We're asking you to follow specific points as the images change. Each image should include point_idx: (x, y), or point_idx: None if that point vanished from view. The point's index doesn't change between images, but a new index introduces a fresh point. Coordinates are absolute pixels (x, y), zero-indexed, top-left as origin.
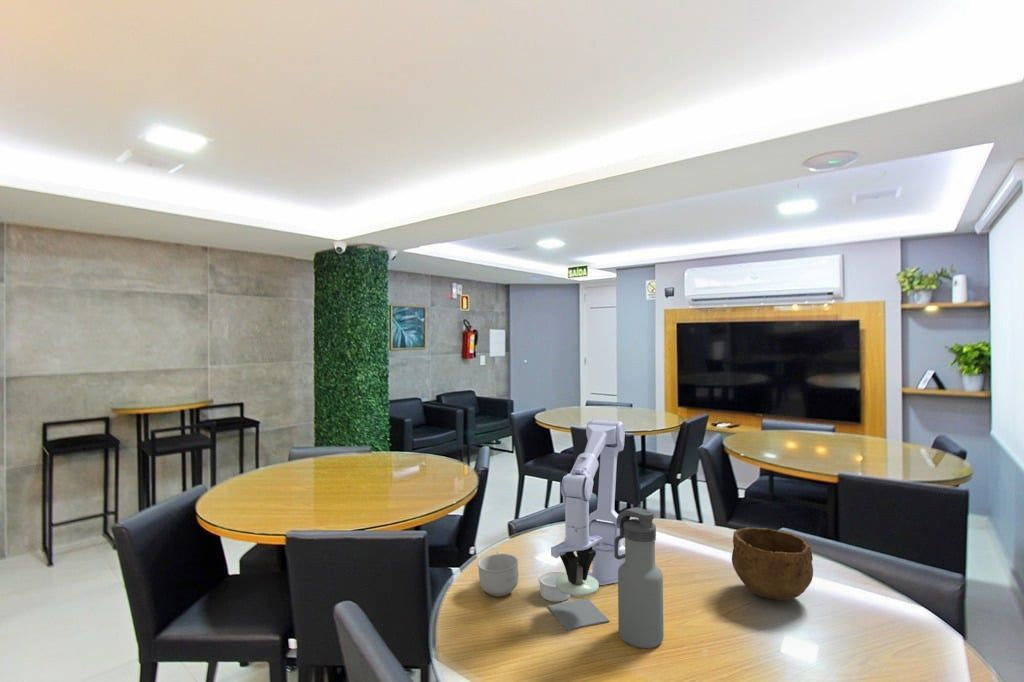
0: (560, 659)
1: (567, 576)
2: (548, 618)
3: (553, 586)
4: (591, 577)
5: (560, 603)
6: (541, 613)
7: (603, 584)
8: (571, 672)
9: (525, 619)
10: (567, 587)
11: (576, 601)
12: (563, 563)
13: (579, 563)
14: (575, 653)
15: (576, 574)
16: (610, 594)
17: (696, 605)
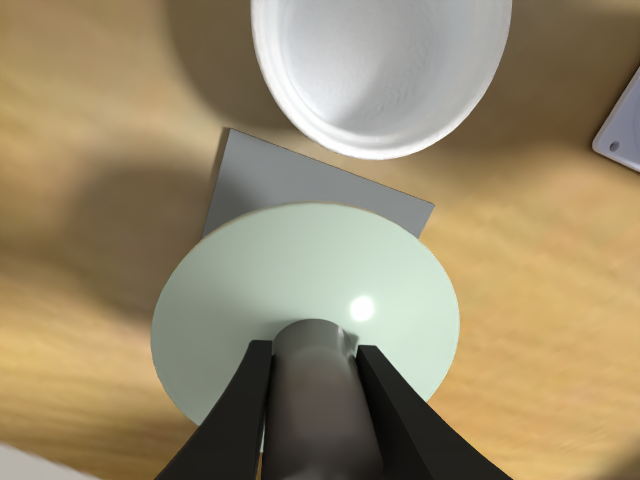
0: (57, 411)
1: (243, 357)
2: (169, 208)
3: (285, 113)
4: (444, 352)
5: (297, 157)
6: (165, 153)
7: (606, 155)
8: (56, 460)
9: (56, 143)
10: (204, 365)
11: (373, 193)
12: (173, 459)
13: (396, 440)
14: (123, 413)
15: (256, 472)
16: (540, 231)
17: (627, 429)
